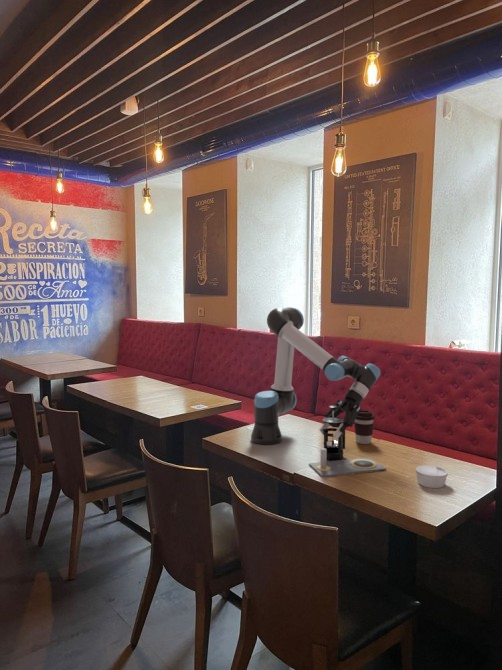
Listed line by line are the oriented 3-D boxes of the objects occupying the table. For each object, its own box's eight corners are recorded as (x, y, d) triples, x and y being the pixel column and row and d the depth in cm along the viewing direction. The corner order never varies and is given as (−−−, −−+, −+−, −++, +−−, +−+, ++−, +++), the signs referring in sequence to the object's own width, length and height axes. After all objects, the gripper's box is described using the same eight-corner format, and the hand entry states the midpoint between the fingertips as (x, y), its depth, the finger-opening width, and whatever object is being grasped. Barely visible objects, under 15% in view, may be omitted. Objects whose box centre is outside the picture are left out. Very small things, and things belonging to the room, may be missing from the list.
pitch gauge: (308, 465, 206) (309, 444, 205) (369, 458, 213) (369, 439, 212) (322, 477, 192) (322, 455, 191) (386, 470, 199) (386, 449, 199)
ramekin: (453, 487, 182) (454, 474, 181) (427, 491, 179) (428, 477, 178) (434, 476, 192) (434, 463, 192) (409, 480, 189) (409, 466, 189)
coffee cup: (358, 437, 243) (358, 408, 242) (377, 441, 238) (377, 410, 236) (349, 443, 235) (350, 412, 234) (369, 446, 230) (370, 415, 228)
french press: (330, 463, 208) (331, 409, 206) (316, 456, 216) (316, 405, 214) (351, 457, 214) (351, 406, 212) (336, 452, 222) (336, 402, 220)
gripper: (378, 404, 211) (349, 446, 205) (344, 395, 230) (317, 433, 223) (369, 393, 208) (339, 435, 202) (336, 384, 227) (308, 423, 220)
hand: (328, 434), depth 212 cm, fingers closed on french press, 9 cm apart
